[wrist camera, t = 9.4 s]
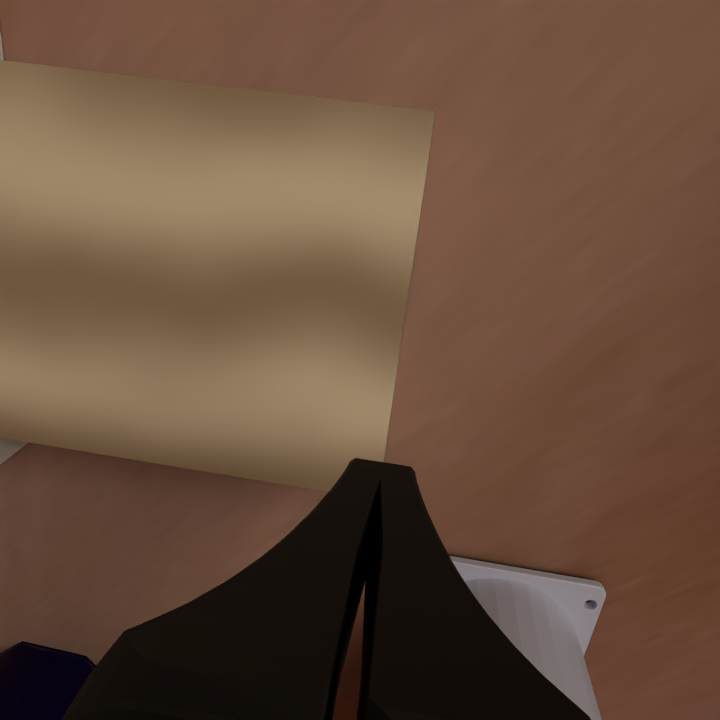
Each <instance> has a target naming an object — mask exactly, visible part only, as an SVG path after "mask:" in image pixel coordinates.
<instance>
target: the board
mask: <svg viewBox="0 0 720 720" xmlns="http://www.w3.org/2000/svg"><path fill="white" fill-rule="evenodd" d="M434 118H435V111H431V110H423V109H414V108H406V107H397V106H389V105H380V104H372V103H363V102H354V101H346V100H337V99H329V98H320V97H312V96H303V95H295V94H286V93H278V92H269V91H260V90H252V89H243V88H235V87H226V86H218V85H209V84H201V83H192V82H184V81H175V80H166V79H158V78H149V77H141V76H132V75H124V74H115V73H107V72H98V71H90V70H81V69H72V68H64V67H55V66H47V65H38V64H30V63H21V62H13V61H4V60H0V438H5V439H11V440H17V441H23V442H29V443H35V444H41V445H47V446H53V447H59V448H65V449H71V450H77V451H83V452H89V453H95V454H101V455H107V456H113V457H119V458H125V459H131V460H137V461H143V462H149V463H155V464H161V465H167V466H174V467H180V468H186V469H192V470H198V471H204V472H210V473H216V474H222V475H228V476H234V477H240V478H246V479H252V480H258V481H264V482H270V483H276V484H282V485H288V486H294V487H300V488H306V489H312V490H318V491H324V492H329V491H330V490H331V489H332V487H333V486H334V485H335V483H336V482H337V481H338V479H339V478H340V477H341V475H342V474H343V472H344V471H345V469H346V468H347V466H348V464H349V462H350V461H351V460H353V459H354V458H360V459H366V460H372V461H378V462H383V461H384V454H385V447H386V441H387V434H388V427H389V420H390V414H391V407H392V400H393V394H394V387H395V380H396V373H397V367H398V360H399V353H400V347H401V340H402V333H403V326H404V320H405V313H406V306H407V299H408V293H409V286H410V279H411V273H412V266H413V259H414V252H415V246H416V239H417V232H418V226H419V219H420V212H421V205H422V199H423V192H424V185H425V178H426V172H427V165H428V158H429V152H430V145H431V138H432V131H433V125H434Z"/></svg>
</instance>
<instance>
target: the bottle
mask: <svg viewBox="0 0 720 720" xmlns="http://www.w3.org/2000/svg"><path fill="white" fill-rule="evenodd" d="M95 667H96V665H94V664H93V663H92V662H91V661H90V660H89V659H88V658H87V657H86V656H82V655H78V654H74V653H69V652H65V651H61V650H56V649H52V648H48V647H44V646H39V645H35V644H31V643H26V642H21V643H19V644H17V645H15V646H13V647H11V648H10V649H8V650H6V651H4V652H2V653H1V654H0V720H61V719H62V718H63V716H64V714H65V713H66V711H67V710H68V708H69V706H70V705H71V703H72V701H73V700H74V698H75V697H76V695H77V693H78V692H79V690H80V689H81V687H82V685H83V684H84V682H85V681H86V679H87V678H88V676H89V675H90V673H91V672H92V671H93V669H94V668H95Z"/></svg>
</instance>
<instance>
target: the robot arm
mask: <svg viewBox="0 0 720 720" xmlns="http://www.w3.org/2000/svg"><path fill="white" fill-rule="evenodd" d="M365 579H366V580H365ZM364 583H365V601H364V622H363V645H362V667H361V683H360V695H359V705H358V712H357V719H356V720H602V719H601V715H600V712H599V709H598V705H597V702H596V698H595V695H594V691H593V688H592V684H591V681H590V677H589V674H588V670H587V667H586V663H585V660H584V654H585V651H586V649H587V646H588V643H589V641H590V638H591V635H592V633H593V630H594V627H595V625H596V622H597V619H598V616H599V614H600V611H601V608H602V606H603V603H604V600H605V598H606V592H605V589H604V587H603V585H602V584H601V583H600V582H597V581H594V580H588V579H582V578H576V577H570V576H565V575H559V574H553V573H547V572H541V571H535V570H530V569H524V568H518V567H512V566H506V565H500V564H494V563H489V562H483V561H477V560H471V559H465V558H459V557H454V556H449V555H448V553H447V551H446V549H445V547H444V545H443V544H442V542H441V540H440V538H439V536H438V534H437V531H436V529H435V527H434V525H433V523H432V520H431V518H430V516H429V514H428V511H427V509H426V507H425V504H424V501H423V499H422V496H421V493H420V490H419V487H418V484H417V480H416V476H415V472H414V470H413V469H412V468H411V467H409V466H403V465H397V464H391V463H385V462H378V461H372V460H366V459H360V458H354V459H353V460H351V461H350V462H349V464H348V466H347V468H346V469H345V471H344V472H343V474H342V475H341V477H340V478H339V479H338V481H337V482H336V483H335V485H334V486H333V487H332V489H331V490H330V491H329V492H328V493H327V494H326V496H325V497H324V498H323V499H322V500H321V501H320V503H319V504H318V505H317V506H316V507H315V508H314V509H313V510H312V512H311V513H310V514H309V515H308V516H307V517H306V518H305V519H303V520H302V521H301V522H300V523H299V524H298V525H297V526H296V527H295V528H294V529H293V530H292V531H291V532H290V533H289V534H288V535H287V536H286V537H285V538H284V539H282V540H281V541H280V542H279V543H278V544H277V545H275V546H274V547H273V548H272V549H270V550H269V551H268V552H267V553H265V554H264V555H263V556H262V557H260V558H259V559H258V560H256V561H255V562H253V563H252V564H251V565H249V566H248V567H246V568H245V569H244V570H242V571H241V572H239V573H238V574H236V575H235V576H233V577H232V578H230V579H229V580H227V581H226V582H224V583H222V584H221V585H219V586H217V587H215V588H214V589H212V590H210V591H208V592H207V593H205V594H203V595H201V596H199V597H198V598H196V599H194V600H192V601H191V602H189V603H187V604H185V605H183V606H181V607H179V608H177V609H174V610H172V611H170V612H168V613H165V614H163V615H161V616H158V617H156V618H154V619H152V620H149V621H147V622H145V623H142V624H140V625H138V626H135V627H133V628H130V629H128V630H126V631H124V632H123V633H122V635H121V636H120V637H119V638H118V639H117V641H116V642H115V643H114V644H113V646H112V647H111V648H110V649H109V650H108V652H107V653H106V654H105V655H104V657H103V658H102V659H101V660H100V662H99V663H98V664H97V665H96V667H95V668H94V669H93V671H92V672H91V673H90V675H89V676H88V678H87V679H86V681H85V682H84V684H83V685H82V687H81V689H80V690H79V692H78V693H77V695H76V697H75V698H74V700H73V701H72V703H71V705H70V706H69V708H68V710H67V711H66V713H65V714H64V716H63V718H62V719H61V720H332V719H333V713H334V707H335V701H336V695H337V691H338V686H339V681H340V677H341V672H342V669H343V665H344V661H345V657H346V653H347V649H348V645H349V641H350V638H351V634H352V630H353V626H354V622H355V618H356V614H357V610H358V607H359V603H360V599H361V595H362V591H363V587H364ZM588 600H593V601H592V602H586V601H588Z"/></svg>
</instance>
